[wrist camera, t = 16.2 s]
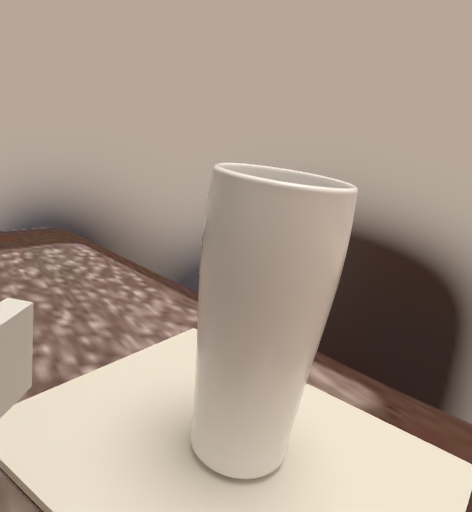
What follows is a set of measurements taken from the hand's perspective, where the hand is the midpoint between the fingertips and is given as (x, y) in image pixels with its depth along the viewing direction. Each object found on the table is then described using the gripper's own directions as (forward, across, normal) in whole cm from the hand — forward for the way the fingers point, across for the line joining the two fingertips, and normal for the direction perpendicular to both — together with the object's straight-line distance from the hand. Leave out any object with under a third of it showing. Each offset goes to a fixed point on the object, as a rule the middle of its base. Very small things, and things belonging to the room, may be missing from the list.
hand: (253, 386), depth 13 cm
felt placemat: (+10, 0, -10) cm, 14 cm away
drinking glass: (+10, 0, -10) cm, 14 cm away
